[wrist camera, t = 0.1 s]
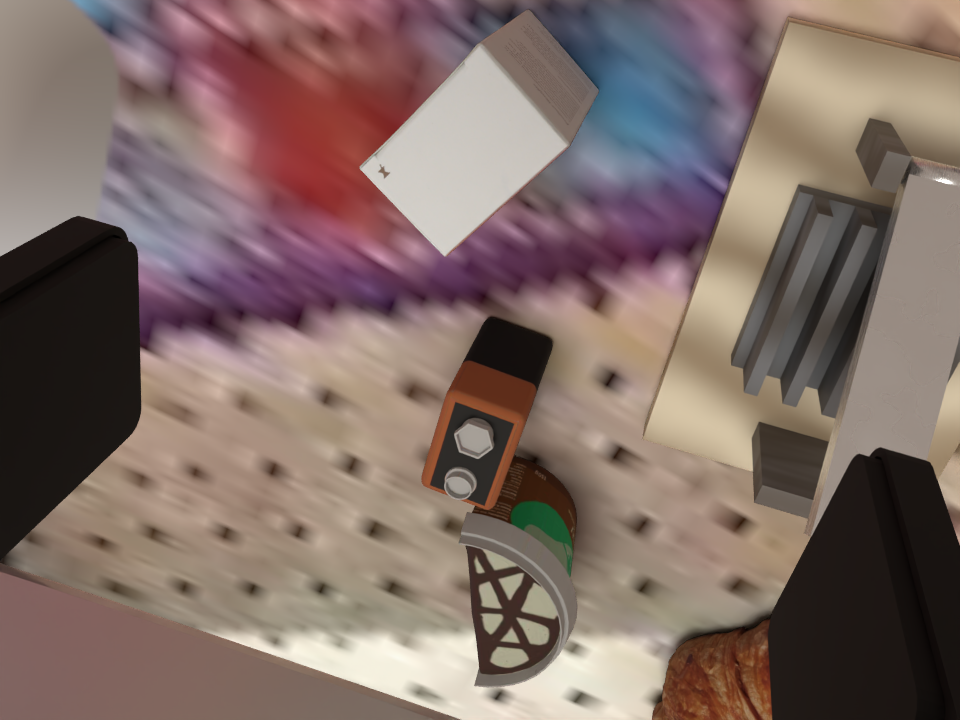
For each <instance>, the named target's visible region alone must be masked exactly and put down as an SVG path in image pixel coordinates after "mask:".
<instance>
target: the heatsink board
mask: <svg viewBox="0 0 960 720" xmlns="http://www.w3.org/2000/svg"><path fill="white" fill-rule="evenodd" d="M912 156H914V157H918V158H922V159H926V160H930V161H934V162H938V163H942V164H946V165H950V166H954V167H958V168H960V57H956V56H952V55H947V54H943V53H939V52H935V51H930V50H926V49H922V48H918V47H913V46H909V45H905V44H901V43H896V42H892V41H888V40H884V39H879V38H875V37H871V36H866V35H862V34H858V33H854V32H849V31H845V30H841V29H837V28H832V27H828V26H824V25H820V24H815V23H811V22H807V21H803V20H798V19H794V18H790V17H787V20H786V23H785V26H784V29H783V32H782V34H781V37H780V40H779V43H778V46H777V49H776V52H775V54H774V57H773V60H772V63H771V66H770V69H769V72H768V74H767V77H766V80H765V83H764V86H763V89H762V92H761V94H760V97H759V100H758V103H757V106H756V109H755V112H754V114H753V117H752V120H751V123H750V126H749V129H748V132H747V134H746V137H745V140H744V143H743V146H742V149H741V152H740V154H739V157H738V160H737V163H736V166H735V169H734V172H733V174H732V177H731V180H730V183H729V186H728V189H727V191H726V194H725V197H724V200H723V203H722V206H721V209H720V211H719V214H718V217H717V220H716V223H715V226H714V229H713V231H712V234H711V237H710V240H709V243H708V246H707V249H706V251H705V254H704V257H703V260H702V263H701V266H700V269H699V271H698V274H697V277H696V280H695V283H694V286H693V289H692V291H691V294H690V297H689V300H688V303H687V306H686V309H685V311H684V314H683V317H682V320H681V323H680V326H679V329H678V331H677V334H676V337H675V340H674V343H673V346H672V349H671V351H670V354H669V357H668V360H667V363H666V366H665V369H664V371H663V374H662V377H661V380H660V383H659V386H658V389H657V391H656V394H655V397H654V400H653V403H652V406H651V409H650V411H649V414H648V417H647V420H646V423H645V426H644V433H643V440H647V441H650V442H653V443H657V444H660V445H664V446H667V447H670V448H674V449H677V450H681V451H684V452H687V453H691V454H694V455H698V456H701V457H704V458H708V459H711V460H715V461H718V462H721V463H725V464H728V465H732V466H735V467H738V468H742V469H745V470H749V471H752V472H753V485H754V503H757V504H761V505H764V506H767V507H771V508H774V509H777V510H781V511H784V512H787V513H791V514H794V515H797V516H801V517H804V518H808V517H809V514H810V510H811V506H812V503H813V499H814V495H815V491H816V488H817V484H818V480H819V477H820V473H821V469H822V466H823V462H824V458H825V455H826V451H827V447H828V444H829V440H830V436H831V433H832V429H833V425H834V422H835V418H836V414H837V411H838V407H839V403H840V400H841V396H842V392H843V389H844V385H845V381H846V378H847V374H848V370H849V367H850V363H851V359H852V356H853V352H854V348H855V345H856V341H857V337H858V334H859V330H860V326H861V323H862V319H863V315H864V312H865V308H866V304H867V301H868V297H869V293H870V290H871V286H872V282H873V278H874V275H875V271H876V267H877V264H878V260H879V256H880V253H881V249H882V245H883V242H884V238H885V234H886V231H887V227H888V223H889V220H890V216H891V212H892V209H893V205H894V201H895V198H896V194H897V190H898V187H899V184H900V182H901V180H902V177H903V175H904V173H905V171H906V169H907V167H908V164H909V162H910V160H911V158H912ZM959 443H960V337H959V341H958V345H957V348H956V352H955V356H954V360H953V363H952V367H951V371H950V375H949V378H948V382H947V386H946V390H945V393H944V397H943V401H942V405H941V409H940V412H939V416H938V420H937V424H936V427H935V431H934V435H933V439H932V442H931V446H930V450H929V454H928V457H927V461H929V462H930V463H931V465H932V466H933V469H934V472H935V475H936V477H937V480H938V478H939V477H940V475H941V473H942V472H943V470H944V468H945V466H946V465H947V463H948V461H949V460H950V458H951V456H952V455H953V453H954V451H955V450H956V448H957V446H958V445H959Z"/></svg>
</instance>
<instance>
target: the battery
mask: <svg viewBox="0 0 960 720" xmlns="http://www.w3.org/2000/svg"><path fill="white" fill-rule="evenodd" d="M552 346H553V344H552V341H551V340H550V339H549V338H547V337H544V336H542V335H539V334H536V333H533V332H531V331H528V330H525V329H522V328H520V327H517V326H514V325H511V324H508V323H506V322H503V321H500V320H497V319H495V318H488V319H487V320H486V321H485V322H484V323H483V325H482V327H481V329H480V331H479V333H478V335H477V337H476V339H475V340H474V342H473V344H472V346H471V348H470V350H469V352H468V354H467V356H466V358H465V359H464V361H463V363H462V365H461V367H460V369H459V371H458V373H457V375H456V377H455V378H454V380H453V382H452V384H451V386H450V388H449V390H448V392H447V394H446V397H445V400H444V403H443V407H442V410H441V413H440V417H439V420H438V423H437V427H436V430H435V433H434V437H433V440H432V443H431V446H430V450H429V453H428V456H427V460H426V463H425V466H424V470H423V473H422V484H423V485H424V486H425V487H427V488H430V489H432V490H435V491H438V492H440V493H443V494H446V495H448V496H450V497H452V498H454V499H457V500H462V501H464V502H467V503H469V504H472V505H475V506H477V507H480V508H483V509H486V510H489V509H491V508H493V507H494V505H495V504H496V502H497V499H498V497H499V494H500V491H501V489H502V486H503V483H504V480H505V478H506V475H507V472H508V470H509V467H510V464H511V462H512V459H513V456H514V453H515V451H516V448H517V445H518V443H519V440H520V437H521V434H522V432H523V429H524V426H525V423H526V421H527V418H528V415H529V412H530V410H531V407H532V404H533V401H534V398H535V396H536V393H537V390H538V387H539V384H540V382H541V379H542V376H543V373H544V370H545V368H546V365H547V362H548V359H549V356H550V354H551V350H552Z"/></svg>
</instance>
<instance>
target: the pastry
mask: <svg viewBox="0 0 960 720" xmlns="http://www.w3.org/2000/svg"><path fill="white" fill-rule="evenodd" d="M770 619H771V618H769V619H766V620H764V621H762V622H761V623H760V624H759V625H757V626H756V627H754V628H752V629H750V630H749V629H746V628H745V627H741V628H738V629H735V630H733V631H732V632H730V633H716V634H715V633H714V634H706V635H702V636H699V637H696V638H693V639H690V640H687V641H686V642H685V643H684V644H682V645H681V646H679V647H678V648H677V649H676V651H675V653H674V654H673V655H672V657H671V658H670V660H669V665H668V669H667V672H666V678H665V683H664V685H663V693H662V702H659V703H658V704H656V706H655V708H654V710H653V716H652V720H772V708H771V689H770V669H769V650H768V629H769V623H770Z"/></svg>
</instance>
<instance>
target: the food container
mask: <svg viewBox="0 0 960 720" xmlns="http://www.w3.org/2000/svg"><path fill="white" fill-rule="evenodd" d="M576 523H577V515H576V508H575V505H574V502H573V499H572V498H571V496H570V494H569V492H568V491H567V489H566V488H565V487H564V485H563V484H562V483H561V482H560V481H559V480H558V479H557V478H556V477H555V476H554V475H553V474H551V473H550V472H548V471H547V470H546V469H544V468H543V467H541V466H539V465H537V464H535V463H533V462H531V461H528V460H526V459H523V458H519V457H516V456H513V459H512V462H511V464H510V467H509V470H508V472H507V475H506V478H505V480H504V483H503V486H502V489H501V491H500V494H499V497H498V499H497V502H496V504H495V505H494V507H493V508H491V509H489V510H486V509H483V508H480V507H477V506H475V507H474V510H473V512H472V513H469V512H467V514H466V517H465V521H464V524H463V527H462V531H461V534H462V535H461V538H460V540H459V544H461V545H466V549H467V554H468V564H469V575H470V589H471V607H472V617H473V623H474V628H475V634H476V641H477V651H478V660H479V670H478V674H477V678H476V681H475V685H474V686H479V687H503V686H510V685H515V684H518V683H521V682H525V681H527V680H529V679H531V678H533V677H535V676H537V675H538V674H540V673H541V672H542V671H544V670H545V669H546V668H547V667H548V666H549V665H550V664H551V663H552V662H553V661H554V660H555V659H556V658H557V656H558V655H559V654H560V652H561V650H562V649H563V647H564V645H565V643H566V641H567V640H568V638H569V636H570V634H571V632H572V630H573V628H574V624H575V621H576V618H577V599H576V592H575V590H574V587H573V584H572V581H571V579H570V576H571V567H572V558H573V550H574V541H575V533H576Z"/></svg>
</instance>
